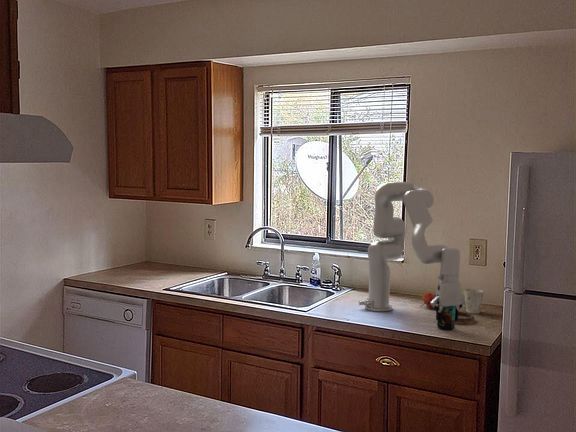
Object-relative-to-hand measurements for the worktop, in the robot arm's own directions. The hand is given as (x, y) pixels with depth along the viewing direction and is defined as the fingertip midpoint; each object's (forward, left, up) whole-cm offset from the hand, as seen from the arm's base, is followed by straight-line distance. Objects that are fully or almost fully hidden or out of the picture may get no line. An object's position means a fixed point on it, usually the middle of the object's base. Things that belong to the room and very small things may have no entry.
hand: (446, 320), depth 262 cm
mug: (+27, +23, -4) cm, 36 cm away
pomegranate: (+13, +34, -4) cm, 37 cm away
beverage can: (0, +1, -4) cm, 4 cm away
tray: (+13, +11, -4) cm, 17 cm away
